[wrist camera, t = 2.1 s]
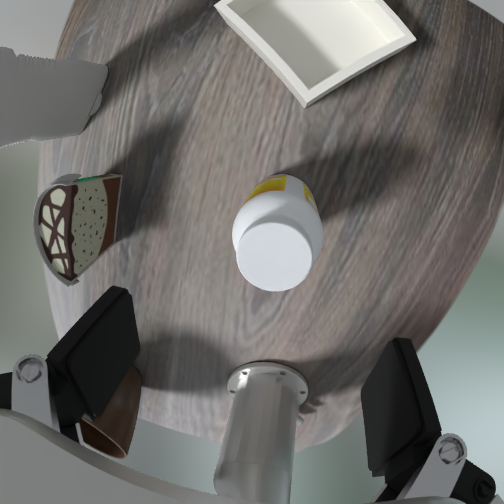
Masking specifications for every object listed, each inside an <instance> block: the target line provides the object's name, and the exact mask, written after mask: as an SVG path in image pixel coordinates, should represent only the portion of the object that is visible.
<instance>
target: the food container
mask: <svg viewBox="0 0 504 504" xmlns="http://www.w3.org/2000/svg"><path fill="white" fill-rule="evenodd" d="M80 177H81V175H79V174H67V175H64V176H61V177H60V178H58V179H56V180H55V181H53V182H52V183H50V184H49V185H48V186H47V187H46V188H45V189H44V190H43V191H42V192H41V194H40V195H39V197H38V199H37V201H36V203H35V207H34V212H33V231H34V237H35V241H36V245H37V247H38V250H39V253H40V255H41V257H42V259H43V261H44V263H45V264H46V266H47V267H48V269H49V270H50V271H51V272H52V274H53V275H54V276H55V277H56V278H57V279H58V280H59V281H61V282H62V283H63V284H64V285H66V286H68V287H69V286H70V285H71V286H73V285H74V284H76V283H78V282H79V280H77V278H78V277H79V276H80V275H81V274H83V273H84V272H85V271H86V270H87V269H88V268H89V267H90V266H91V265H92V264H93V263H94V262H95V261H96V260H97V259H98V258H100V257H101V256H102V255H103V254H104V253H105V252H106V251H107V250H108V249H109V248H111V247H112V246H113V245H114V244H115V239H116V228H117V218H118V209H119V200H120V193H121V186H122V179H123V174H117V173H114V174H106V175H100V176H93V177H87V178H81V179H78V178H80Z"/></svg>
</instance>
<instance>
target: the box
mask: <svg viewBox="0 0 504 504" xmlns="http://www.w3.org/2000/svg"><path fill="white" fill-rule="evenodd" d="M214 7H215V8H216V9H217V11H218V12H219V13H220V15H221V16H222V18H223V19H224V20H225V22H226V23H227V24H228V25H229V26H230V27H231V28H232V29H233V30H234V31H235V32H236V33H237V34H238V35H239V36H240V37H241V38H242V39H243V40H244V41H245V42H246V43H247V44H248V45H249V46H250V47H251V48H252V49H253V50H254V51H255V52H256V53H257V54H258V55H259V56H260V57H261V58H262V59H263V60H264V61H265V63H266V64H267V65H268V66H269V67H270V68H271V69H272V70H273V71H274V73H275V74H276V75H277V76H278V77H279V78H280V79H281V80H282V82H283V83H284V84H285V85H286V86H287V88H288V89H289V90H290V91H291V92H292V93H293V95H294V96H295V97H296V98H297V100H298V101H299V102H300V103H301V105H302V106H303V107H304V108H306V107H308V106H309V105H311V104H313V103H314V102H316V101H317V100H319V99H320V98H322V97H323V96H325V95H326V94H328V93H330V92H331V91H333V90H334V89H336V88H337V87H339V86H341V85H342V84H344V83H346V82H347V81H349V80H351V79H352V78H354V77H356V76H357V75H359V74H361V73H362V72H364V71H366V70H368V69H369V68H371V67H373V66H375V65H376V64H378V63H380V62H382V61H384V60H386V59H387V58H389V57H391V56H393V55H395V54H397V53H399V52H400V51H401V50H403V49H404V48H406V47H407V46H409V45H410V44H411V43H413V42H414V41H416V38H415V37H414V36H413V34H412V33H411V32H410V31H409V29H408V28H407V27H406V26H405V24H404V23H403V22H402V21H401V20H400V19H399V17H398V16H397V15H396V14H395V13H394V12H393V11H392V10H391V8H390V7H389V6H388V5H387V4H386V3H385V2H384V1H383V0H221V1H219V2H218V3H216V4H215V5H214Z"/></svg>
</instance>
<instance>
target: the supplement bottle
mask: <svg viewBox="0 0 504 504" xmlns="http://www.w3.org/2000/svg"><path fill="white" fill-rule="evenodd" d="M323 237H324V236H323V227H322V223H321V220H320V217H319V213H318V210H317V206H316V203H315V200H314V197H313V194H312V192H311V191H310V189H309V188H308V186H307V185H306V184H305V183H304V182H302V181H301V180H300V179H298V178H296V177H294V176H291V175H284V174H279V175H273V176H270V177H268V178H266V179H264V180H262V181H261V182H260V183H259V184H258V185H257V186H256V187H255V189H254V190H253V191H252V193H251V194H250V196H249V197H248V199H247V200H246V202H245V203H244V205H243V206H242V208H241V209H240V211H239V212H238V214H237V216H236V219H235V222H234V225H233V231H232V238H233V244H234V248H235V251H236V257H237V263H238V267H239V269H240V271H241V273H242V274H243V276H244V277H245V278H246V279H247V280H248V281H249V282H250V283H251V284H253V285H255V286H256V287H258V288H261V289H264V290H267V291H284V290H288V289H291V288H293V287H295V286H297V285H298V284H300V283H301V282H302V281H303V280H304V279H305V278H306V277H307V275H308V273H309V271H310V269H311V266H312V265H313V263H314V262H315V261H316V259H317V258H318V256H319V254H320V252H321V249H322V245H323Z"/></svg>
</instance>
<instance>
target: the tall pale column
mask: <svg viewBox="0 0 504 504" xmlns="http://www.w3.org/2000/svg"><path fill="white" fill-rule="evenodd" d="M108 72H109V68H108V66H106V65H102V64H97V63H92V62H88V61H82V60H77V59H71V58H68V59H63V60H59V61H55V60H54V59H48V58H46V59H44V58H39V57H37V58H36V57H33V58H32V56H30V57H29V56H28V55H27V56H25V55H22V54H20V55H18V56H17V57H16V55H15V53H14V51H13V50H12V49H10V48H6V47H0V148H2V147H5V146H6V145H7V146H9V145H12V144H15V143H16V144H17V143H21V142H26V141H28V140H34V141H44V140H50V139H56V138H62V137H68V136H76V135H80V134H81V133H82V132H83V131H84V129H85V127H86V125H87V123H88V121H89V119H90V117H91V115H93V114H95V113H96V112H97V111H98V109H99V107H100V105H101V102H102V93H101V92H102V90H103V88H104V85H105V82H106V79H107V77H108Z"/></svg>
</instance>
